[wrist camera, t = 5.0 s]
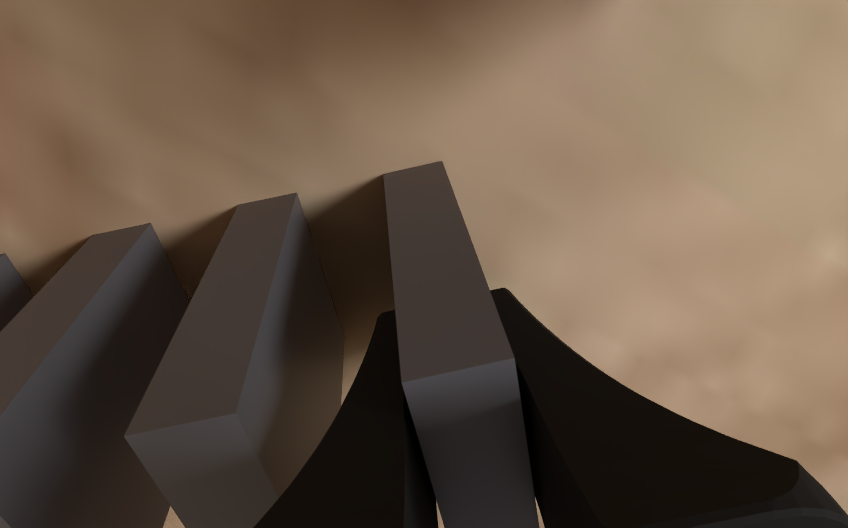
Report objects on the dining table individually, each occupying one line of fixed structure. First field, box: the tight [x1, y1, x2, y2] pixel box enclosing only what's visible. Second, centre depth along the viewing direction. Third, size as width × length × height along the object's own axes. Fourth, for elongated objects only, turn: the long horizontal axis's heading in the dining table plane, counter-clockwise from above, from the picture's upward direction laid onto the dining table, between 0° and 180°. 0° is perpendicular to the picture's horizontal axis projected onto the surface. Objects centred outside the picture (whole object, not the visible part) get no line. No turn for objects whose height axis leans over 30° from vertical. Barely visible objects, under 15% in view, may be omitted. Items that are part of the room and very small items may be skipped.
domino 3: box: [383, 161, 539, 528], centre depth 12 cm, size 5×2×8 cm, turn 11°
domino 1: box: [0, 223, 190, 528], centre depth 12 cm, size 5×2×8 cm, turn 10°
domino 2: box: [124, 193, 344, 528], centre depth 12 cm, size 5×2×8 cm, turn 10°
